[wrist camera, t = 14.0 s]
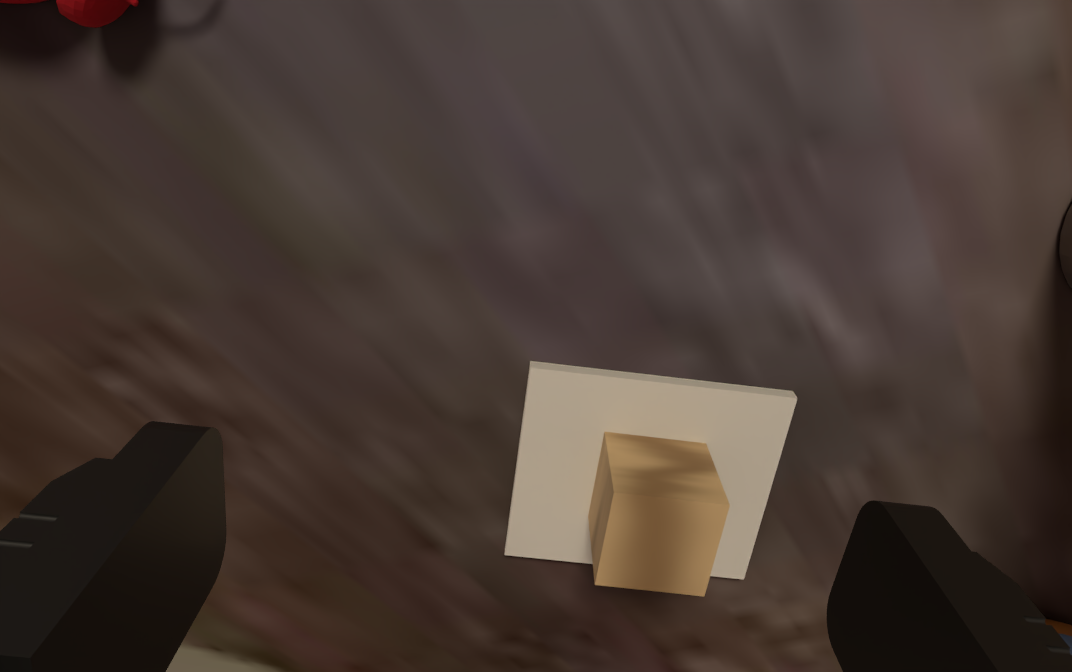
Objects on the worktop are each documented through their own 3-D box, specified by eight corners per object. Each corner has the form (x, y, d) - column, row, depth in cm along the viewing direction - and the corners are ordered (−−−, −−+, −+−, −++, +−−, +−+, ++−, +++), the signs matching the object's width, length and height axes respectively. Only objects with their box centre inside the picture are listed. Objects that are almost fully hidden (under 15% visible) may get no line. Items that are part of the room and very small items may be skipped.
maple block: (706, 443, 41) (729, 505, 36) (684, 527, 43) (704, 596, 38) (604, 431, 41) (614, 492, 36) (587, 516, 43) (594, 584, 38)
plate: (792, 391, 40) (797, 398, 40) (740, 570, 45) (743, 579, 44) (530, 360, 40) (529, 367, 39) (504, 545, 45) (504, 555, 44)
